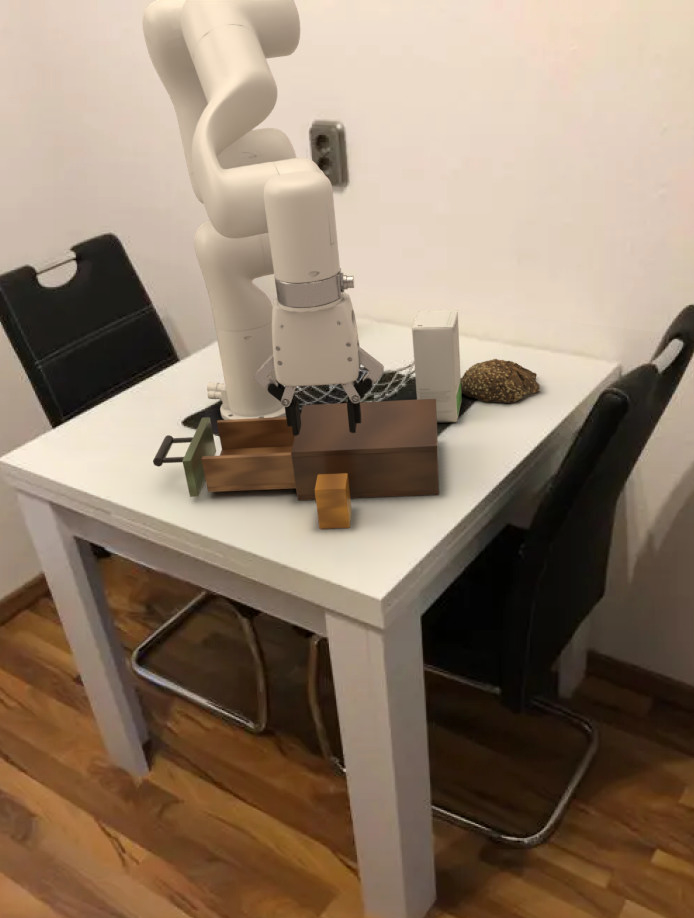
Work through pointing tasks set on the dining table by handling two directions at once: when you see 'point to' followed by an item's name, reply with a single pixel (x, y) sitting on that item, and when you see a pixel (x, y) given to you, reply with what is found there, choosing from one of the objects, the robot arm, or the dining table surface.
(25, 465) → the dining table surface
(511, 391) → the bread roll
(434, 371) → the cosmetic box
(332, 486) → the block
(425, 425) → the cabinet
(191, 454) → the drawer
